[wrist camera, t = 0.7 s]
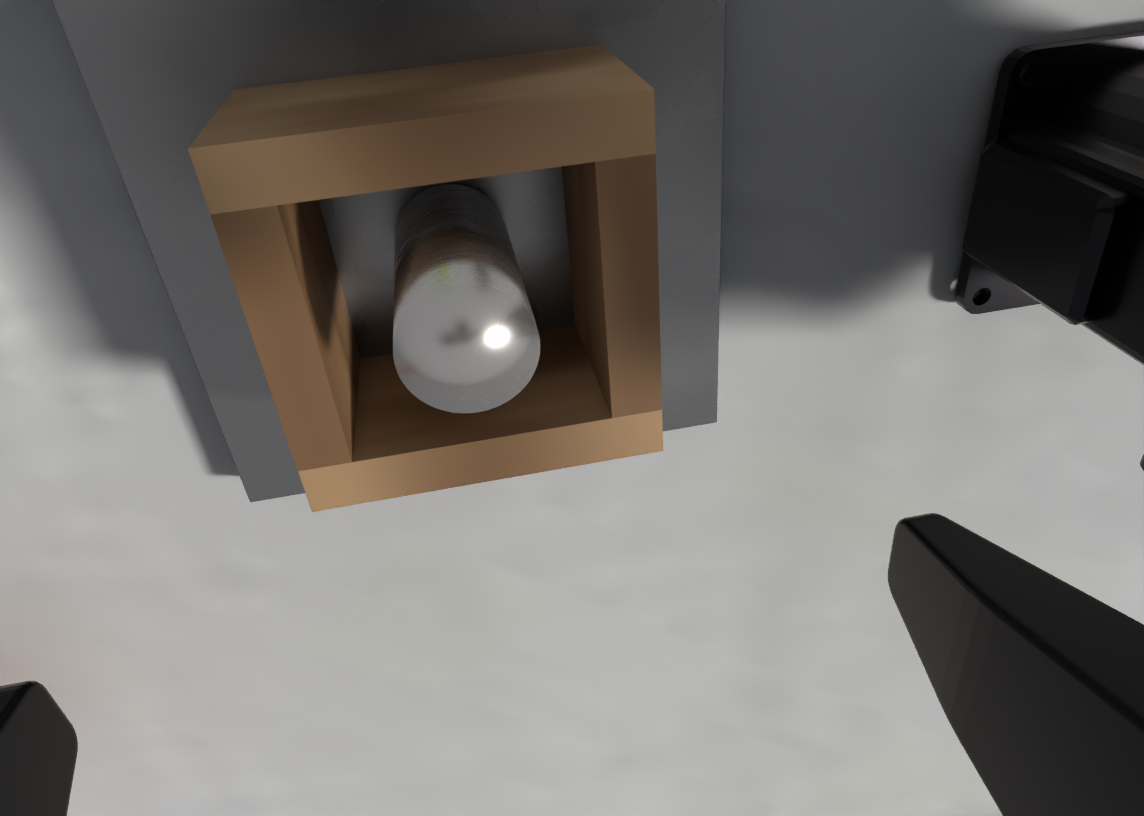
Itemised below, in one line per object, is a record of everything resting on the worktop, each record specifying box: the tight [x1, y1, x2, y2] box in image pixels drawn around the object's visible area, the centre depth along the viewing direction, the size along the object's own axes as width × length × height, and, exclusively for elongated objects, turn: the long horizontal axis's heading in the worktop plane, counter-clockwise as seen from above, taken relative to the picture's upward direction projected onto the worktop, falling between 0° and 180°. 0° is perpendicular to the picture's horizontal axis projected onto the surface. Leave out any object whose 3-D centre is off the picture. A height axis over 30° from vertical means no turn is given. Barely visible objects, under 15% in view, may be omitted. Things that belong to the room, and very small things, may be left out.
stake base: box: [52, 0, 726, 502], centre depth 16 cm, size 12×12×6 cm
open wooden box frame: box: [188, 45, 663, 512], centre depth 16 cm, size 7×7×4 cm
